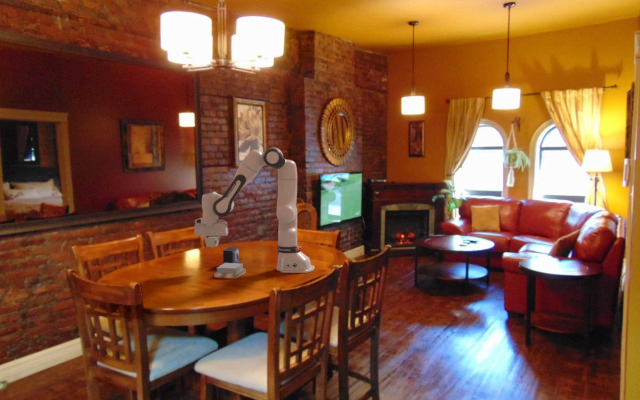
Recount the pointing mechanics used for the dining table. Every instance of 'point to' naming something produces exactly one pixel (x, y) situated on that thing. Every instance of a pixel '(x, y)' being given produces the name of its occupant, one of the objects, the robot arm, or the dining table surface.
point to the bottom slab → (227, 275)
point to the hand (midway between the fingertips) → (212, 243)
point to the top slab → (230, 268)
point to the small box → (231, 255)
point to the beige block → (211, 242)
